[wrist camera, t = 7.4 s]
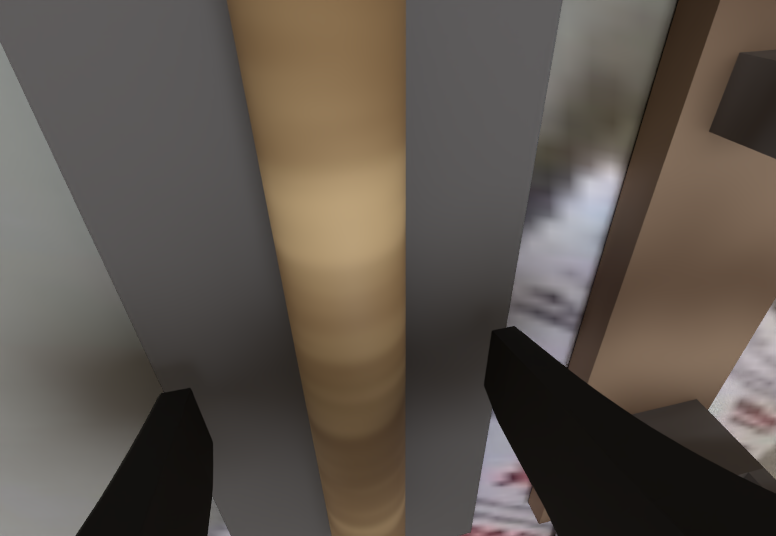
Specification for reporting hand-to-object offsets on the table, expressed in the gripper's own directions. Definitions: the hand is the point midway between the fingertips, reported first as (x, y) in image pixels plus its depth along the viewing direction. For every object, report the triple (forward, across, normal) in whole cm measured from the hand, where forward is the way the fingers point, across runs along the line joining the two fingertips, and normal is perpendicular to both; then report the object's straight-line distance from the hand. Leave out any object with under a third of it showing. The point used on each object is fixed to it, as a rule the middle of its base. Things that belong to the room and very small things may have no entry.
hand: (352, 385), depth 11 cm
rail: (+1, 0, 0) cm, 1 cm away
